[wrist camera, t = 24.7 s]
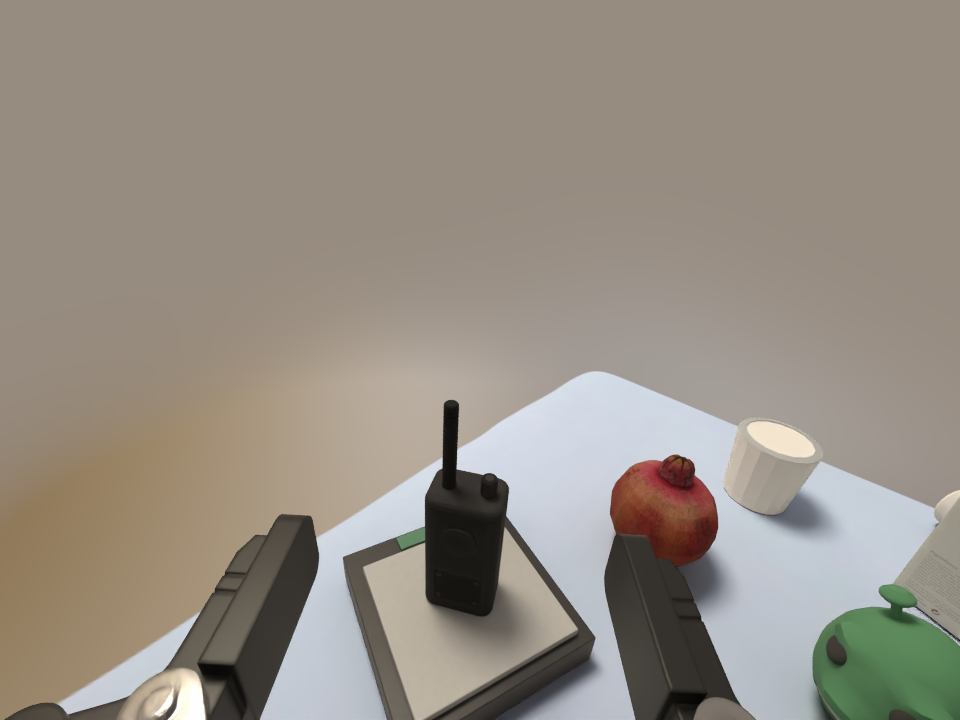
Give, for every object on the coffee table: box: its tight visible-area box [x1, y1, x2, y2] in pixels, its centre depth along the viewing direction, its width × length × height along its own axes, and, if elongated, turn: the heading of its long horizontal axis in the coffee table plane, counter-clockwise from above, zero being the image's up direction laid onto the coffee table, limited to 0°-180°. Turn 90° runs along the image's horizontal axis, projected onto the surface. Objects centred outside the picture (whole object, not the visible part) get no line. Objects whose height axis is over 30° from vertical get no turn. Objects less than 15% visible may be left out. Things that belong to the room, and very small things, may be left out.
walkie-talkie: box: [425, 400, 509, 617], centre depth 26 cm, size 5×3×15 cm
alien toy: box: [813, 584, 960, 720], centre depth 24 cm, size 7×8×10 cm
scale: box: [343, 517, 595, 720], centre depth 31 cm, size 13×13×3 cm
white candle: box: [723, 417, 824, 515], centre depth 42 cm, size 7×7×7 cm
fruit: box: [610, 455, 718, 567], centre depth 35 cm, size 8×8×10 cm
